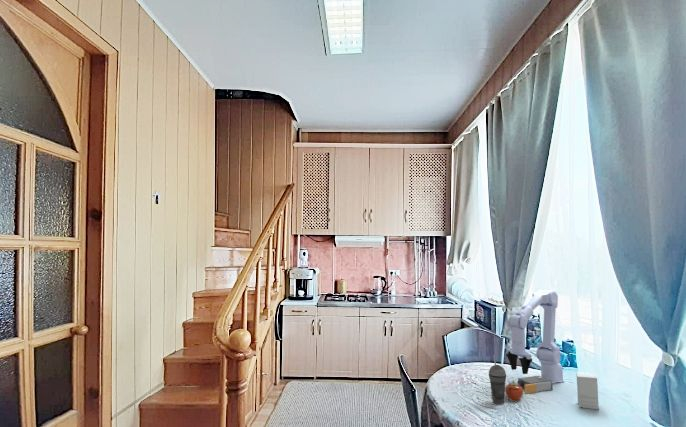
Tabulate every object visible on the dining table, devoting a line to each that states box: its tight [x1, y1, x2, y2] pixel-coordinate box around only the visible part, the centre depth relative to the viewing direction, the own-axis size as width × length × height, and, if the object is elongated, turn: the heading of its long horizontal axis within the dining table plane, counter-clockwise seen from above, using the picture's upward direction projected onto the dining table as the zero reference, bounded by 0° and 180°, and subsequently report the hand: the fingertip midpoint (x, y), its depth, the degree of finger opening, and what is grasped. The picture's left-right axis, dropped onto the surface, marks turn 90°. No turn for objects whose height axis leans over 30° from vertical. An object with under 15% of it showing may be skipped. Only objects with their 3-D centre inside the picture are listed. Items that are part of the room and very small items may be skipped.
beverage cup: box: [488, 354, 507, 405], centre depth 193 cm, size 7×7×20 cm
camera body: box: [516, 375, 551, 391], centre depth 210 cm, size 13×8×5 cm, turn 108°
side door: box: [524, 381, 554, 394], centre depth 205 cm, size 15×1×4 cm, turn 108°
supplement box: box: [576, 371, 600, 410], centre depth 187 cm, size 7×7×13 cm
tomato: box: [505, 380, 524, 402], centre depth 196 cm, size 7×7×8 cm
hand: (519, 371), depth 207 cm, fingers open, 7 cm apart
